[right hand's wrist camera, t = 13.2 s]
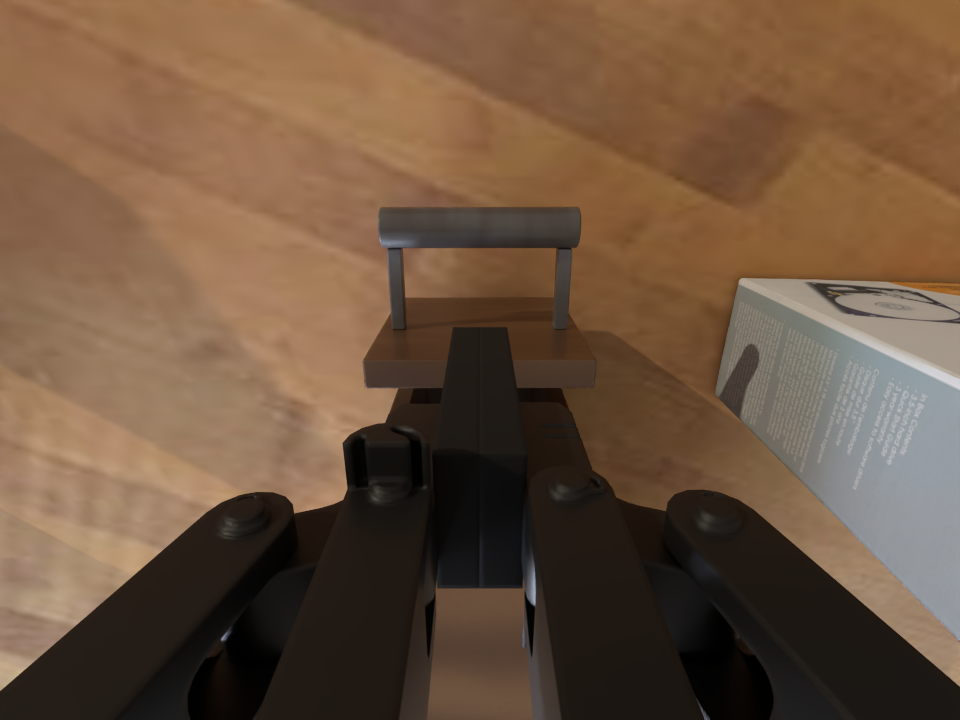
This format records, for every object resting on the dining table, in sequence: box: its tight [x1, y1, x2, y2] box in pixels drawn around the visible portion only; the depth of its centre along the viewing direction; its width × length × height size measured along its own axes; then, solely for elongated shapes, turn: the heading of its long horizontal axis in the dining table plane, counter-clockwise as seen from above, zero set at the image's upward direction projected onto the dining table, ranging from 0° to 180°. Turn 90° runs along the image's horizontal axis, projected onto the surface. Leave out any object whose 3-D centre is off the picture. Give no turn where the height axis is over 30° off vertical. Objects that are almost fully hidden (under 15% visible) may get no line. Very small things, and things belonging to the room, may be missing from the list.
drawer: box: [363, 207, 596, 414], centre depth 26 cm, size 26×9×10 cm, turn 0°
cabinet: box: [427, 580, 533, 720], centre depth 31 cm, size 22×10×11 cm, turn 0°
